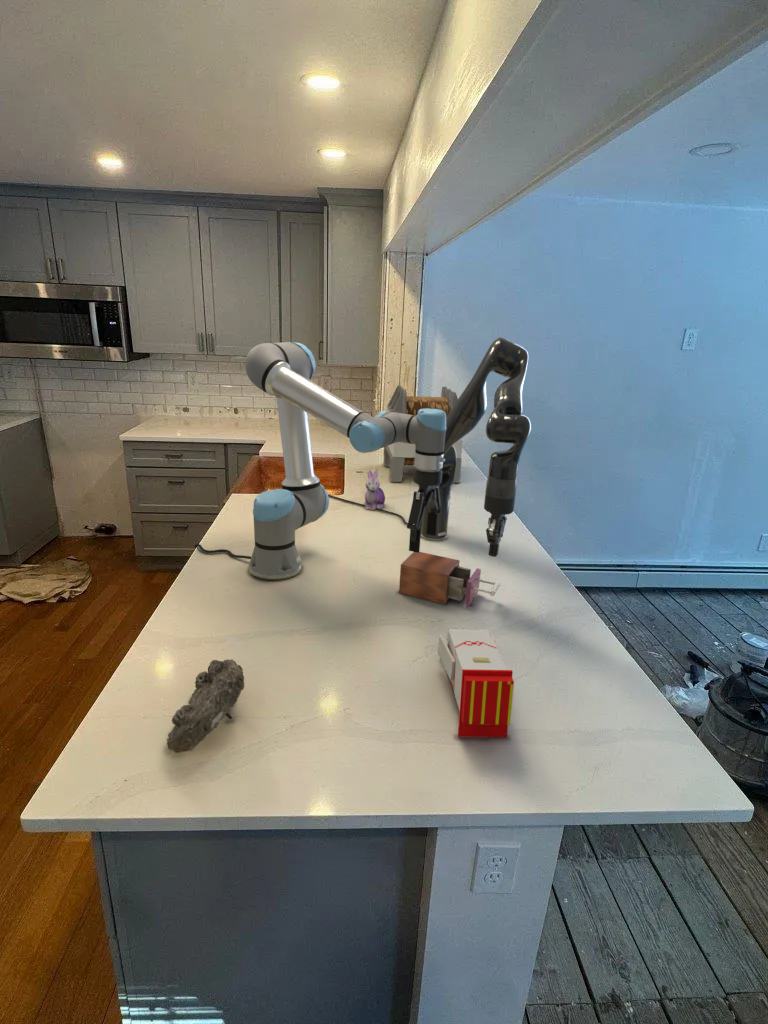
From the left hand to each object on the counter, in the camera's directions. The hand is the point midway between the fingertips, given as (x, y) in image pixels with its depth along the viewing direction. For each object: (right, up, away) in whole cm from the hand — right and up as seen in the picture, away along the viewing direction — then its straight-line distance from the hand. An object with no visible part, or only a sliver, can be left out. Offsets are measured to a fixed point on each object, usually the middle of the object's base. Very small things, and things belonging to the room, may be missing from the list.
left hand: (423, 542), depth 157 cm
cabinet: (+2, -14, +4) cm, 14 cm away
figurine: (-15, +11, +69) cm, 71 cm away
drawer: (+11, -15, 0) cm, 18 cm away
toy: (+7, -29, -38) cm, 49 cm away
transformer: (+6, +27, +118) cm, 121 cm away
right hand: (+18, -3, -8) cm, 20 cm away
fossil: (-44, -31, -49) cm, 72 cm away
